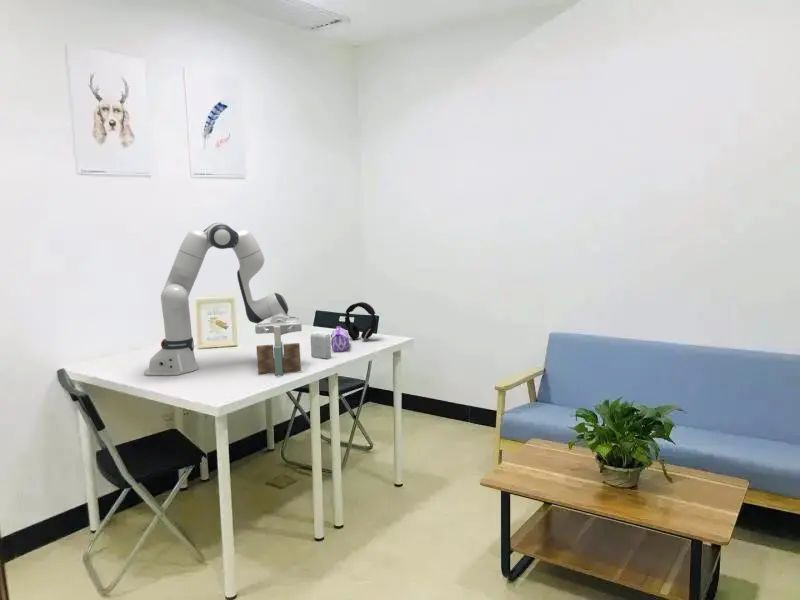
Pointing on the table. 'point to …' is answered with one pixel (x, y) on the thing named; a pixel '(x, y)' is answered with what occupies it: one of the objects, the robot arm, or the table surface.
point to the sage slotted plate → (278, 351)
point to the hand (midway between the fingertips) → (277, 330)
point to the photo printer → (320, 344)
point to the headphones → (353, 329)
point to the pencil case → (339, 339)
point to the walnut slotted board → (289, 361)
